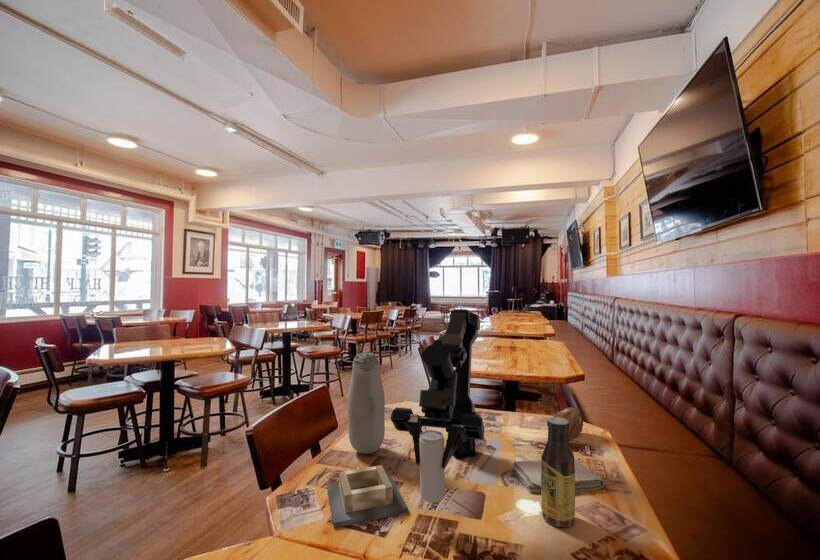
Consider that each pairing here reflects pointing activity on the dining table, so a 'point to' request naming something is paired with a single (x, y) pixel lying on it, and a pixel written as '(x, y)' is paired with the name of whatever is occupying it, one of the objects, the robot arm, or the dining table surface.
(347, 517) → the can collar
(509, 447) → the dining table surface
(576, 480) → the washcloth
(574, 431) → the brown rounded slab
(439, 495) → the beverage can
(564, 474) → the sauce bottle
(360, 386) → the grey bottle
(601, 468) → the dining table surface
